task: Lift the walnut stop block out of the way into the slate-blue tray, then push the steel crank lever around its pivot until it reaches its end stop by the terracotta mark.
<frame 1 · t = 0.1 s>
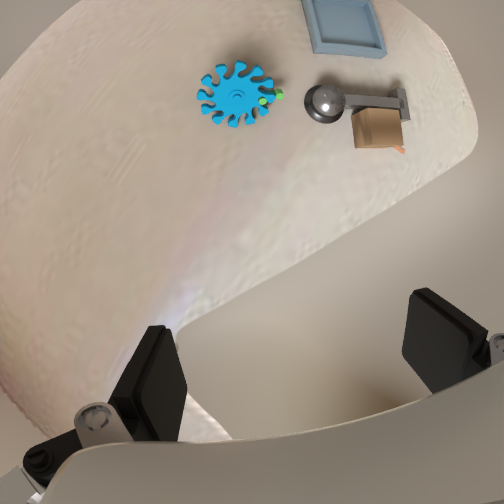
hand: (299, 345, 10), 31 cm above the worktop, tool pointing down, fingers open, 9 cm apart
pivot base: (324, 104, 36), on the worktop
tray: (341, 26, 32), on the worktop
gear: (240, 102, 36), on the worktop
stop block: (367, 132, 37), on the worktop
crank lever: (361, 102, 34), point 2 cm above the worktop, hinge at 0.0°
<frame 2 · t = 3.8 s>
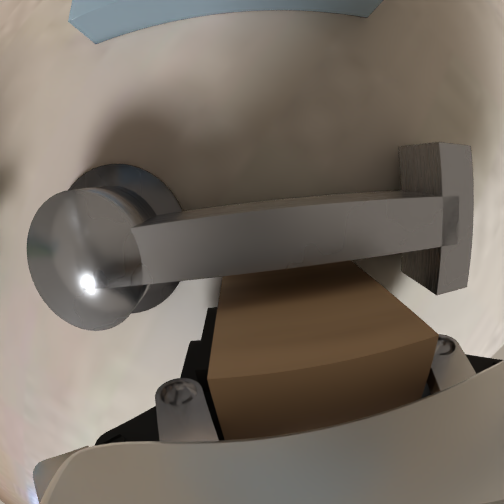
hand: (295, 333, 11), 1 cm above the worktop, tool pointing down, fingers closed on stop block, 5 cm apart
pivot base: (116, 241, 10), on the worktop
stop block: (292, 324, 11), on the worktop, touching gripper
crank lever: (253, 232, 9), point 2 cm above the worktop, hinge at 0.0°
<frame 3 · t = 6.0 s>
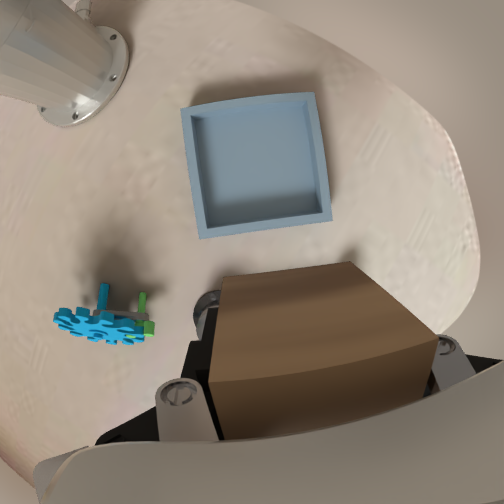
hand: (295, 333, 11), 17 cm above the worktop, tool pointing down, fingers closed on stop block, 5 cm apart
pivot base: (222, 317, 29), on the worktop
tray: (256, 163, 25), on the worktop
gear: (118, 312, 29), on the worktop
stop block: (292, 326, 11), point 16 cm above the worktop, touching gripper
crank lever: (275, 318, 27), point 2 cm above the worktop, hinge at 0.0°
when the fingers open (3 cm above the worktop, at t = 8.7 s): stop block drops 1 cm, resting on tray.
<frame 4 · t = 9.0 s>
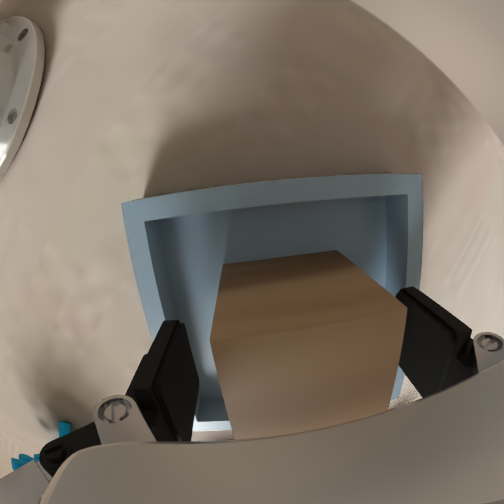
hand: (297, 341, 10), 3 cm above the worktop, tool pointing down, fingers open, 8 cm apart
tray: (284, 304, 13), on the worktop
gear: (87, 445, 17), on the worktop
stop block: (285, 309, 13), point 1 cm above the worktop, touching tray
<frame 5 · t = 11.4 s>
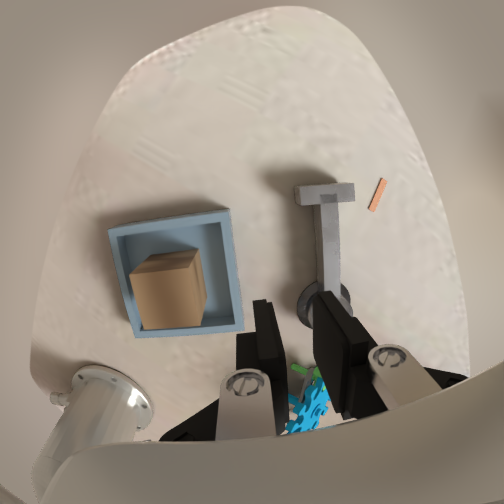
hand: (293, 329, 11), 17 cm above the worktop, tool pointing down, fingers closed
pivot base: (324, 305, 30), on the worktop
tray: (180, 273, 28), on the worktop
gear: (306, 385, 33), on the worktop
stop block: (178, 276, 28), point 1 cm above the worktop, touching tray
crank lever: (328, 263, 27), point 2 cm above the worktop, hinge at 0.0°
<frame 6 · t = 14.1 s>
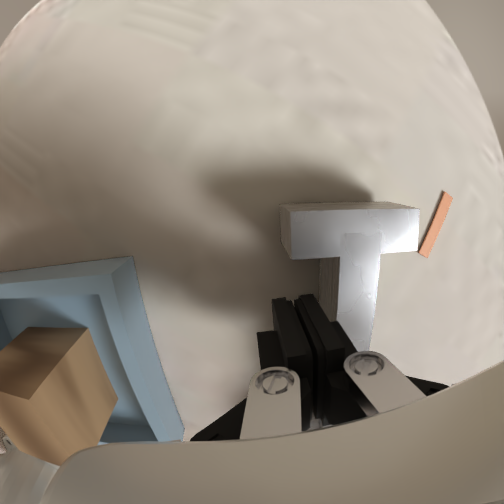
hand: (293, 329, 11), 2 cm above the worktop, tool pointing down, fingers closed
pivot base: (320, 413, 15), on the worktop
tray: (74, 358, 14), on the worktop
stop block: (70, 364, 13), point 1 cm above the worktop, touching tray
crank lever: (338, 367, 12), point 2 cm above the worktop, hinge at -2.6°, touching gripper
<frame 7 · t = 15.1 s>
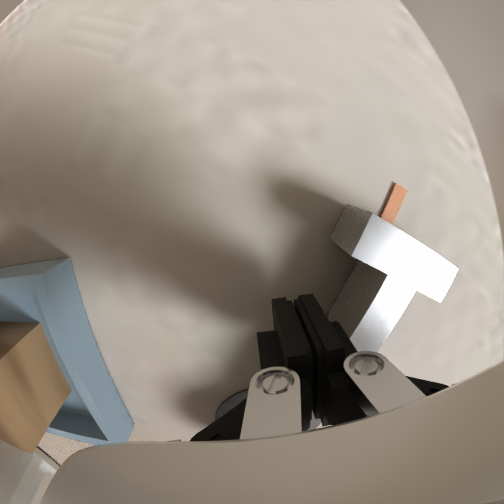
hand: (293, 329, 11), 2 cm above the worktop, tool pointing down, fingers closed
pivot base: (265, 420, 15), on the worktop
tray: (35, 350, 14), on the worktop
stop block: (30, 355, 13), point 1 cm above the worktop, touching tray
crank lever: (318, 380, 12), point 2 cm above the worktop, hinge at -30.6°, touching gripper
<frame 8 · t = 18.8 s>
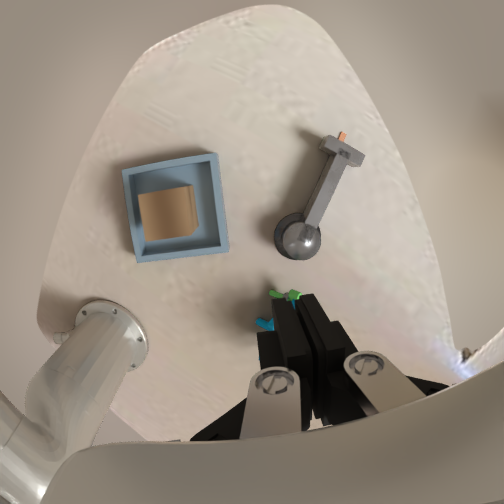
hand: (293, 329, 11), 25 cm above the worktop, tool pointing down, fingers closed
pivot base: (297, 236, 36), on the worktop
tray: (177, 207, 34), on the worktop
gear: (282, 317, 39), on the worktop
stop block: (176, 208, 34), point 1 cm above the worktop, touching tray
crank lever: (319, 200, 33), point 2 cm above the worktop, hinge at -30.7°
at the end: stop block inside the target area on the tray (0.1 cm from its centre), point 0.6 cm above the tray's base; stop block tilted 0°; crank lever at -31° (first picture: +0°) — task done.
